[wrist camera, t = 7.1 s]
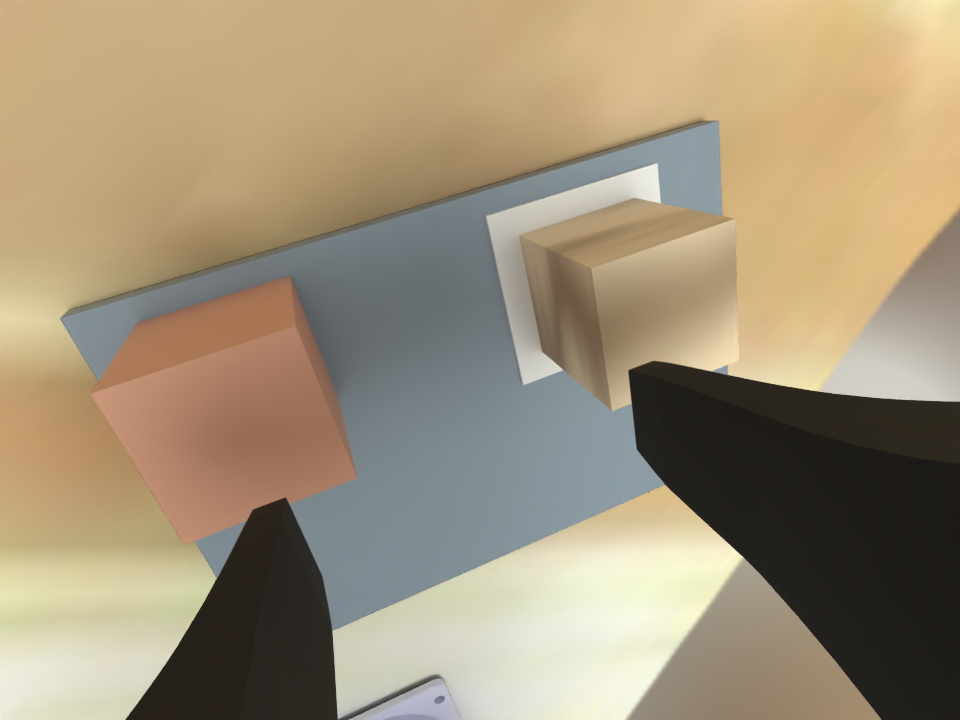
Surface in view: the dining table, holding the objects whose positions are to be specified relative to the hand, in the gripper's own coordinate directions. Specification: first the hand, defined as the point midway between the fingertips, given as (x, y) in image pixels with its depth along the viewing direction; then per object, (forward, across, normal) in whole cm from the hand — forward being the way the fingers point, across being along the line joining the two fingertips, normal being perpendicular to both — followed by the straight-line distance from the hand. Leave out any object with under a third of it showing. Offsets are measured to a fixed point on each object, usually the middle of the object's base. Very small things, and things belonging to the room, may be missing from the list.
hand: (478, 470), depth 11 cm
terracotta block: (+9, +5, 0) cm, 10 cm away
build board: (+10, -2, +4) cm, 11 cm away
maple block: (+9, -7, 0) cm, 11 cm away
